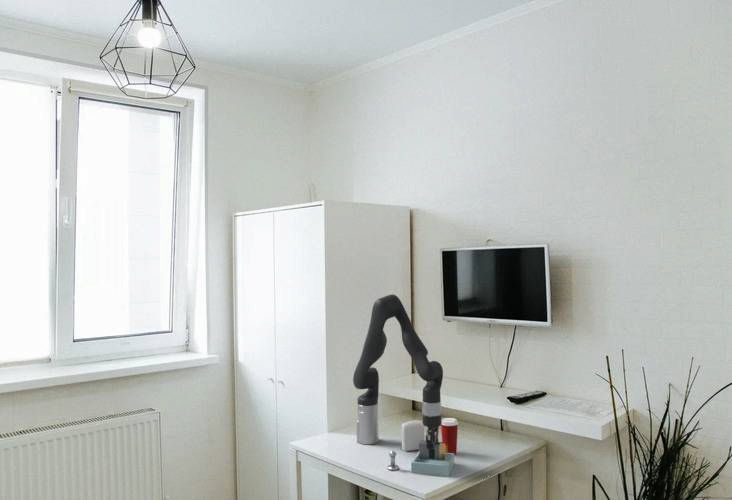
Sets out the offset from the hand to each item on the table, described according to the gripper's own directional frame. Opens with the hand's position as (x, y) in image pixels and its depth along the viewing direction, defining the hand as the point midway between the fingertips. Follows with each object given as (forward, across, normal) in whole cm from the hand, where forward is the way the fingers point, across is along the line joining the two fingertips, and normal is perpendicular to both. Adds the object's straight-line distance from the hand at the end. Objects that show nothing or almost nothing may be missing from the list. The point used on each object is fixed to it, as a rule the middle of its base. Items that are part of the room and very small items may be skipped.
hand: (432, 456), depth 228 cm
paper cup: (+5, -19, +3) cm, 20 cm away
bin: (+5, 0, 0) cm, 5 cm away
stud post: (+5, +5, -15) cm, 16 cm away
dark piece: (+1, 0, -1) cm, 1 cm away
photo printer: (+5, -20, -13) cm, 24 cm away
